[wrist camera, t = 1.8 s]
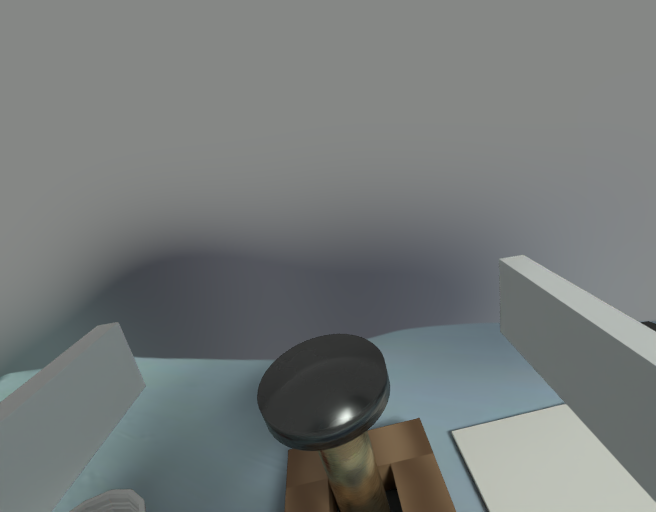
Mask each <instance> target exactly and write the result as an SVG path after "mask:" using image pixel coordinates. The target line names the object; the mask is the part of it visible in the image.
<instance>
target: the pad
mask: <svg viewBox="0 0 656 512" xmlns="http://www.w3.org/2000/svg"><path fill="white" fill-rule="evenodd" d="M452 436H453V438H454V440H455V442H456V444H457V446H458V448H459V451H460V453H461V455H462V457H463V459H464V461H465V463H466V465H467V467H468V469H469V472H470V474H471V476H472V478H473V480H474V482H475V484H476V486H477V488H478V491H479V493H480V495H481V497H482V499H483V501H484V503H485V505H486V507H487V509H488V512H656V502H655V501H654V500H653V499H652V498H651V497H650V496H649V495H648V493H647V492H646V491H645V490H644V489H643V488H642V487H641V486H640V485H639V484H638V482H637V481H636V480H635V479H634V478H633V477H632V476H631V475H630V474H629V473H628V471H627V470H626V469H625V468H624V467H623V466H622V465H621V464H620V463H619V462H618V460H617V459H616V458H615V457H614V456H613V455H612V454H611V453H610V452H609V451H608V449H607V448H606V447H605V446H604V445H603V444H602V443H601V442H600V441H599V440H598V438H597V437H596V436H595V435H594V434H593V433H592V432H591V431H590V430H589V429H588V427H587V426H586V425H585V424H584V423H583V422H582V421H581V420H580V419H579V418H578V416H577V415H576V414H575V413H574V412H573V411H572V410H571V409H570V408H569V407H568V405H567V404H563V405H559V406H554V407H550V408H546V409H542V410H538V411H534V412H530V413H525V414H521V415H517V416H513V417H509V418H505V419H501V420H496V421H492V422H488V423H484V424H480V425H476V426H472V427H467V428H463V429H459V430H455V431H452Z"/></svg>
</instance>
